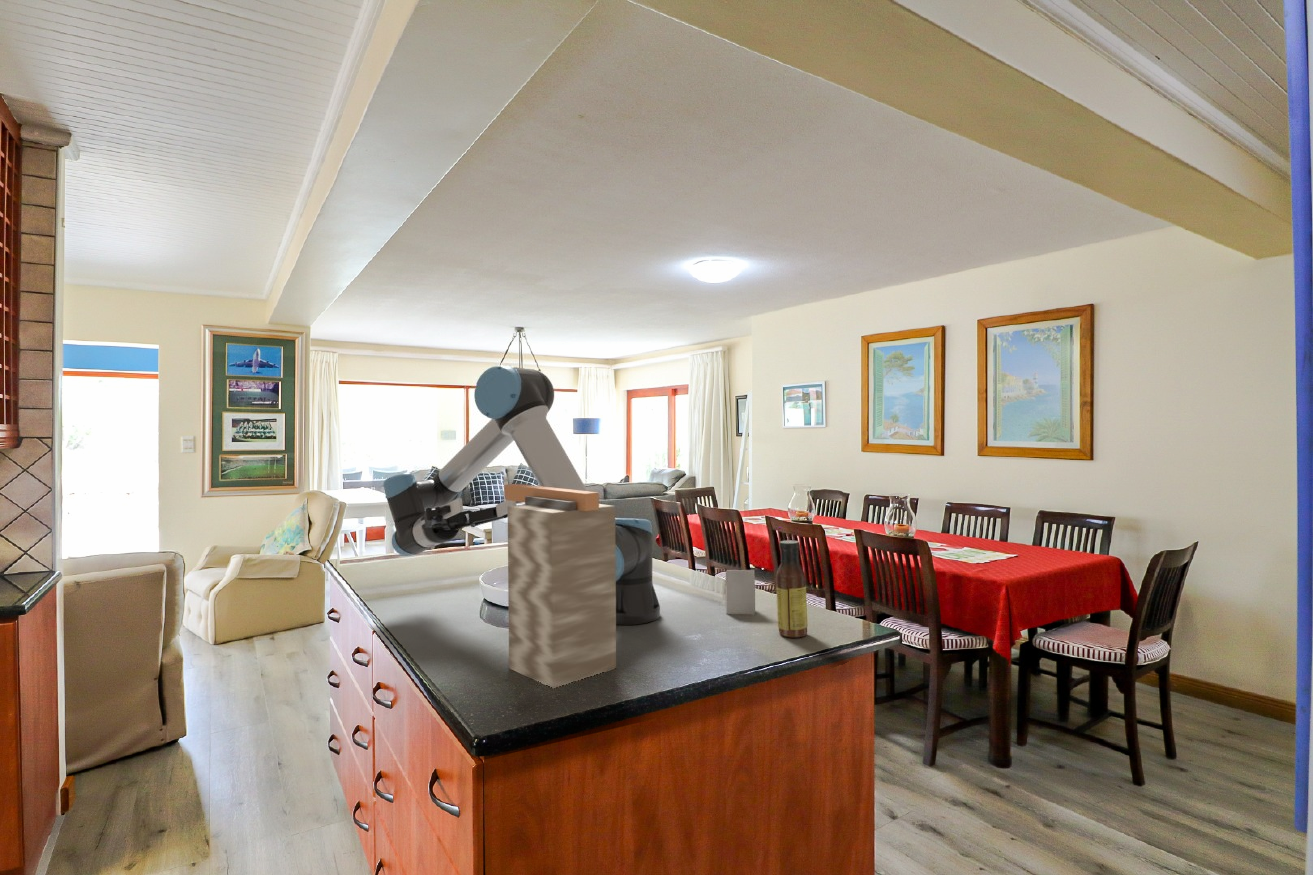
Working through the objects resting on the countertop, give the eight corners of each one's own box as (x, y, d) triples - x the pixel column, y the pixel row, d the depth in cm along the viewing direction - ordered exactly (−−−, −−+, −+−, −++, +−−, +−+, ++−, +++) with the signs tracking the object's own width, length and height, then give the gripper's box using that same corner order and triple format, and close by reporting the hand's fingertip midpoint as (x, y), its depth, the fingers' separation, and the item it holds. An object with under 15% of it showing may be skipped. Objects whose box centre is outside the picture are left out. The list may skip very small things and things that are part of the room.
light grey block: (755, 614, 164) (755, 572, 164) (726, 614, 164) (726, 571, 164) (753, 609, 168) (753, 568, 167) (725, 609, 168) (725, 568, 168)
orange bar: (504, 499, 139) (504, 484, 139) (517, 498, 141) (517, 483, 141) (585, 511, 120) (585, 493, 120) (598, 509, 122) (598, 492, 122)
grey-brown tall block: (509, 668, 128) (507, 498, 128) (570, 650, 138) (568, 492, 137) (553, 688, 118) (552, 504, 118) (616, 668, 128) (615, 497, 127)
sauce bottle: (810, 632, 149) (810, 540, 149) (803, 640, 144) (803, 544, 143) (780, 628, 152) (780, 538, 152) (772, 636, 147) (772, 542, 146)
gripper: (484, 540, 170) (538, 519, 157) (387, 546, 151) (438, 523, 138) (480, 510, 172) (532, 487, 158) (383, 513, 153) (433, 486, 140)
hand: (488, 503), depth 148 cm, fingers open, 13 cm apart
